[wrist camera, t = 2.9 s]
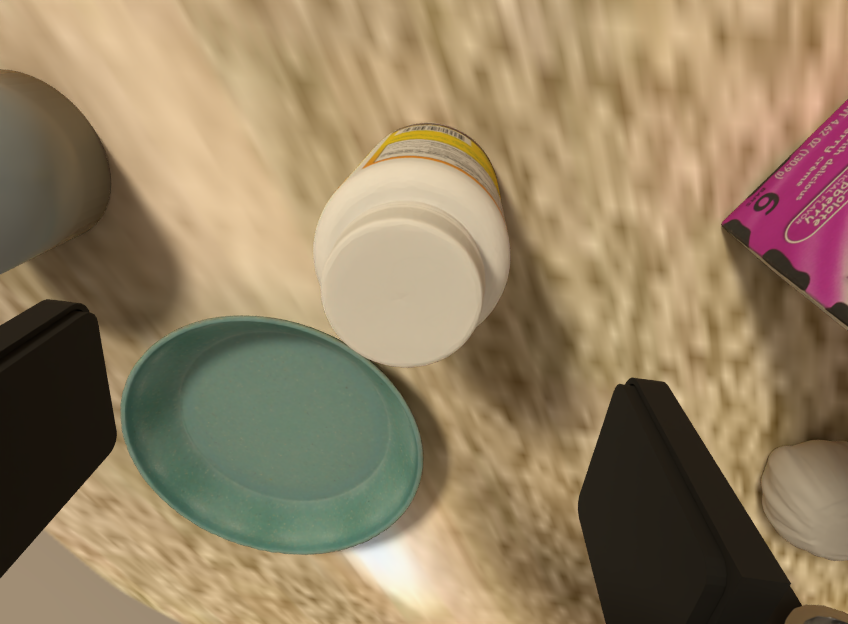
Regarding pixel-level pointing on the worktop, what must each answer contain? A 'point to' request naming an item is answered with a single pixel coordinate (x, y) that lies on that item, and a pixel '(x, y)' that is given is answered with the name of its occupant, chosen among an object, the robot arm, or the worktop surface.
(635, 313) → the worktop surface
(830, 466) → the garlic
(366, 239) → the supplement bottle
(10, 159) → the grey short cylinder
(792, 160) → the candy bar box
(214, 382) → the saucer
